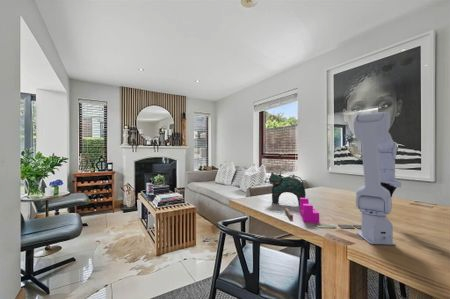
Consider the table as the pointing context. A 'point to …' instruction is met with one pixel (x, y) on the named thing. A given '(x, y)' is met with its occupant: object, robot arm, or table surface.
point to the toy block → (308, 211)
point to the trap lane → (325, 224)
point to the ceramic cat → (286, 186)
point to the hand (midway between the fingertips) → (386, 201)
